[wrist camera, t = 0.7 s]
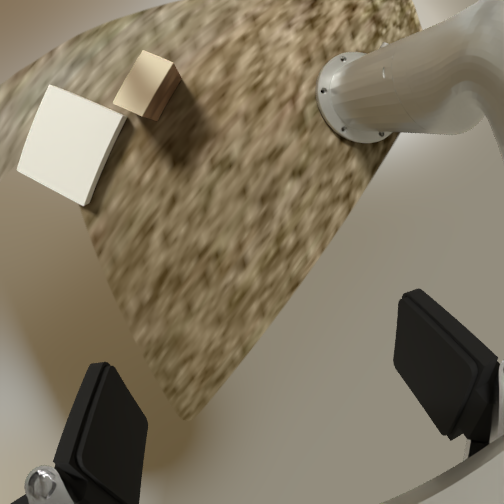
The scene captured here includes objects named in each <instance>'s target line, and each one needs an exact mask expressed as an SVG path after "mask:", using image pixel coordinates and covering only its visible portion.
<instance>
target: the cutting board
mask: <svg viewBox="0 0 504 504" xmlns="http://www.w3.org/2000/svg"><path fill="white" fill-rule="evenodd" d="M126 119H127V116H125V115H123V114H120V113H118V112H116V111H114V110H112V109H109V108H107V107H105V106H102V105H100V104H98V103H95V102H93V101H91V100H88V99H86V98H84V97H81V96H79V95H76V94H74V93H72V92H69V91H67V90H64V89H62V88H59V87H57V86H53V85H49V86H48V89H47V91H46V93H45V95H44V97H43V99H42V102H41V104H40V106H39V109H38V111H37V113H36V116H35V118H34V121H33V123H32V126H31V129H30V131H29V134H28V137H27V140H26V142H25V145H24V148H23V151H22V154H21V157H20V161H19V164H18V167H17V171H19V172H20V173H22V174H24V175H26V176H28V177H29V178H31V179H33V180H35V181H37V182H39V183H40V184H42V185H44V186H46V187H48V188H50V189H52V190H54V191H55V192H57V193H59V194H61V195H63V196H65V197H67V198H69V199H71V200H73V201H74V202H76V203H78V204H80V205H82V206H85V205H87V204H89V203H90V200H91V197H92V195H93V192H94V190H95V187H96V185H97V182H98V180H99V177H100V175H101V172H102V170H103V168H104V165H105V163H106V161H107V159H108V156H109V154H110V152H111V150H112V147H113V145H114V143H115V141H116V139H117V137H118V135H119V133H120V131H121V129H122V127H123V125H124V123H125V121H126Z"/></svg>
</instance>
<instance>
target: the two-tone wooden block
mask: <svg viewBox="0 0 504 504" xmlns="http://www.w3.org/2000/svg"><path fill="white" fill-rule="evenodd" d="M181 79H182V78H181V76H180V74H179V72H178V71H177V69H176V67H175V65H174V63H173V62H171V61H168V60H166V59H163V58H161V57H159V56H156V55H154V54H151V53H149V52H146V51H144V50H143V51H142V53H141V54H140V56H139V57H138V59H137V61H136V62H135V64H134V66H133V67H132V69H131V71H130V72H129V74H128V76H127V77H126V79H125V81H124V83H123V84H122V86H121V88H120V90H119V92H118V94H117V95H116V97H115V99H114V101H113V104H116V105H118V106H120V107H122V108H125V109H127V110H129V111H131V112H133V113H136V114H138V115H140V116H142V117H145V118H148V119H152V120H155V121H158V119H159V117H160V115H161V114H162V112H163V110H164V108H165V106H166V105H167V103H168V101H169V99H170V98H171V96H172V94H173V93H174V91H175V89H176V88H177V86H178V84H179V83H180V81H181Z"/></svg>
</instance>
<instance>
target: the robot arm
mask: <svg viewBox="0 0 504 504" xmlns="http://www.w3.org/2000/svg"><path fill="white" fill-rule="evenodd" d="M341 60H342V61H341ZM321 90H322V91H323V94H322V93H321ZM316 100H317V104H318V108H319V110H320V112H321V114H322V116H323V118H324V119H325V121H326V123H327V124H328V125H329V126H330V127H331V128H332V129H333V130H334V131H335V132H336V133H338V134H339V135H340V136H342V137H344V138H346V139H348V140H350V141H354V142H358V143H374V142H378V141H381V140H383V139H385V138H386V137H388V136H389V135H390V134H391V133H392V132H408V133H409V132H410V133H427V134H444V135H445V134H446V135H456V134H461V133H464V132H467V131H469V130H470V129H472V128H473V127H475V126H476V125H477V124H478V123H479V122H480V121H481V120H482V119H483V117H484V116H486V117H487V119H488V121H489V123H490V126H491V129H492V131H493V134H494V137H495V139H496V141H497V143H498V147H499V150H500V153H501V156H502V159H503V163H504V0H480V1H478V2H476V3H475V4H473V5H471V6H470V7H468V8H466V9H464V10H463V11H461V12H459V13H458V14H456V15H454V16H452V17H450V18H449V19H447V20H445V21H443V22H441V23H438V24H436V25H434V26H432V27H429V28H427V29H425V30H422V31H420V32H417V33H415V34H412V35H410V36H407V37H405V38H403V39H400V40H398V41H395V42H393V43H391V44H388V43H385V42H383V43H382V45H381V47H380V48H379V49H377V50H375V51H373V52H371V53H369V54H365V53H360V52H347V53H342V54H340V55H338V56H336V57H334V58H332V59H331V60H329V61H328V62H327V63H326V64H325V65H324V66H323V68H322V70H321V71H320V73H319V76H318V78H317V82H316ZM341 128H343V131H342V130H341ZM379 133H380V135H379ZM497 359H498V357H497V356H496V355H495V354H494V353H493V352H492V351H490V349H488V348H487V347H486V346H485V345H484V344H483V343H482V342H481V341H480V340H479V339H478V338H476V337H475V336H474V335H473V334H472V333H471V332H470V331H469V330H468V329H467V328H466V327H464V326H463V325H462V324H461V323H460V322H459V321H458V320H457V319H455V318H454V317H453V316H452V315H451V314H450V313H449V312H447V311H446V310H445V309H444V308H443V307H441V306H440V305H439V304H438V303H437V302H436V301H434V300H433V299H432V298H431V297H430V296H429V295H427V294H426V293H425V292H424V291H422V290H421V289H415V290H413V291H410V292H407V293H404V294H403V296H402V299H400V301H399V304H398V318H397V330H396V340H395V350H394V359H393V361H394V366H395V368H396V370H397V371H398V373H399V374H400V375H401V377H402V378H403V380H404V381H405V382H406V384H407V385H408V387H409V388H410V389H411V391H412V392H413V394H414V395H415V396H416V398H417V399H418V401H419V402H420V404H421V405H422V407H423V408H424V409H425V411H426V412H427V414H428V415H429V417H430V418H431V420H432V421H433V423H434V424H435V425H436V427H437V428H438V430H439V431H440V433H441V434H442V435H447V436H448V438H449V439H450V440H453V439H455V438H456V437H458V436H460V435H461V434H464V435H465V436H466V438H467V441H466V448H465V454H464V459H463V462H462V463H460V464H458V465H456V466H455V467H453V468H451V469H450V470H448V471H446V472H444V473H442V474H441V475H439V476H437V477H436V478H434V479H432V480H430V481H428V482H426V483H424V484H422V485H420V486H418V487H416V488H414V489H412V490H410V491H408V492H406V493H403V494H401V495H399V496H397V497H395V498H392V499H390V500H388V501H385V502H383V503H380V504H504V360H503V361H502V362H501V364H499V362H497ZM147 430H148V422H147V419H146V417H145V415H144V414H143V412H142V411H141V409H140V408H139V406H138V404H137V403H136V401H135V400H134V398H133V397H132V395H131V394H130V392H129V390H128V389H127V387H126V385H125V384H124V382H123V380H122V379H121V377H120V375H119V374H118V372H117V370H116V369H115V367H114V366H110V364H109V363H107V362H102V363H93V364H90V366H89V368H88V370H87V372H86V374H85V377H84V379H83V382H82V384H81V386H80V389H79V391H78V394H77V396H76V399H75V401H74V404H73V407H72V409H71V412H70V414H69V417H68V419H67V422H66V425H65V428H64V430H63V433H62V436H61V439H60V442H59V445H58V448H57V451H56V454H55V457H54V460H53V462H54V463H55V468H53V467H51V466H47V465H43V466H39V467H36V468H35V469H33V470H32V471H31V472H30V473H29V474H28V476H27V478H26V481H25V493H26V494H25V495H24V496H22V497H20V498H19V499H17V500H16V501H14V502H13V503H11V504H139V498H140V487H141V477H142V468H143V460H144V452H145V444H146V437H147Z"/></svg>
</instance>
